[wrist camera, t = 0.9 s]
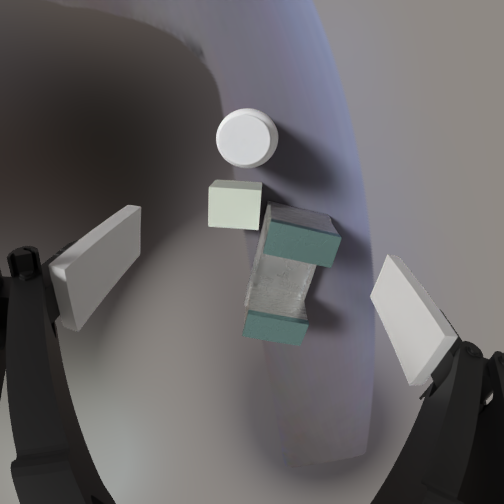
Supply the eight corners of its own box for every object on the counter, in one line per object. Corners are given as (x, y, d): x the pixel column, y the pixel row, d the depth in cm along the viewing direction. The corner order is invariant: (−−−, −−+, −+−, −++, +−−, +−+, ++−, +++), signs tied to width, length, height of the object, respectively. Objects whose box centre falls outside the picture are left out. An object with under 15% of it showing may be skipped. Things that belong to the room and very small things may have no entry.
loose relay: (216, 179, 30) (208, 187, 26) (262, 182, 30) (261, 190, 26) (215, 214, 32) (208, 226, 28) (259, 217, 32) (258, 230, 28)
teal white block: (267, 200, 31) (268, 220, 24) (328, 214, 31) (344, 238, 24) (244, 299, 36) (239, 335, 30) (297, 308, 36) (302, 346, 30)
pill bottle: (246, 102, 26) (238, 91, 18) (286, 132, 27) (295, 134, 19) (215, 141, 28) (195, 146, 20) (254, 170, 29) (250, 187, 21)
